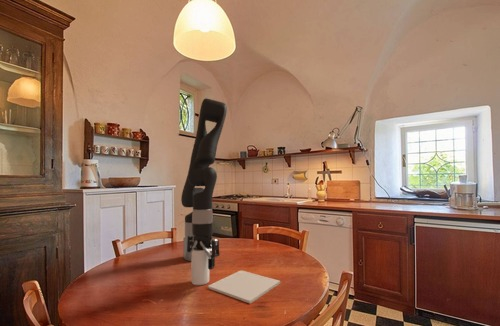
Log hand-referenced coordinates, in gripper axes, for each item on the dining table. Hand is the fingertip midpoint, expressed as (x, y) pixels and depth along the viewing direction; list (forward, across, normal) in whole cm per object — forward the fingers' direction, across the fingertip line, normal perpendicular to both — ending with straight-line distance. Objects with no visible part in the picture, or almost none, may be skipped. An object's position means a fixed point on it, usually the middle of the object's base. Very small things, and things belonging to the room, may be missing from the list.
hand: (202, 266), depth 89 cm
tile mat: (+6, +14, +6) cm, 17 cm away
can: (+6, -1, 0) cm, 6 cm away
